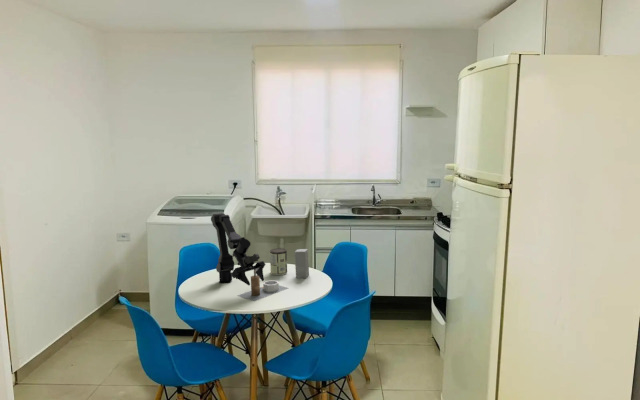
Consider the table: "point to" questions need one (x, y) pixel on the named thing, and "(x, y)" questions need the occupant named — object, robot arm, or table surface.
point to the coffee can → (278, 261)
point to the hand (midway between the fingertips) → (256, 282)
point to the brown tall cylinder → (255, 285)
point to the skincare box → (301, 263)
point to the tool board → (264, 290)
